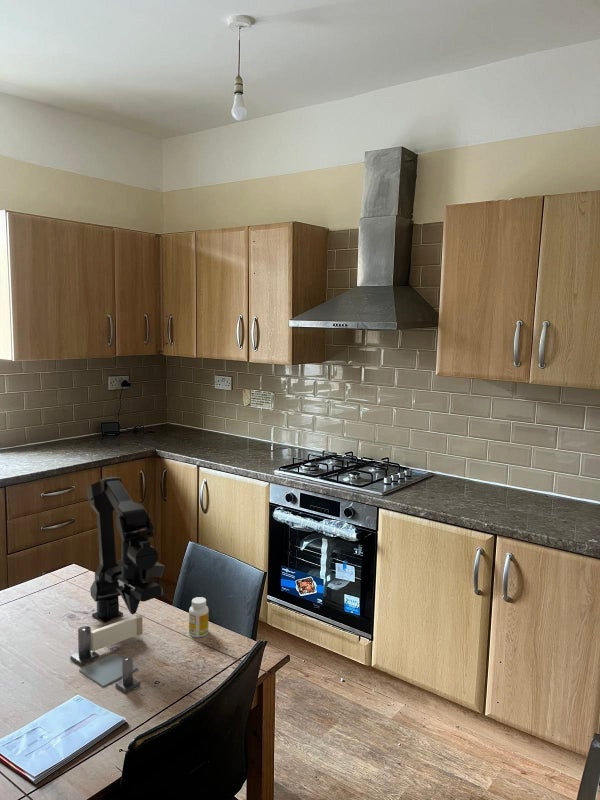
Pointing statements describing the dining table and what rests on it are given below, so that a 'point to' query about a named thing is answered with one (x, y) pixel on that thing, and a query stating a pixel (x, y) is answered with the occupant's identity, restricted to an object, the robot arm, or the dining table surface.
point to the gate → (116, 632)
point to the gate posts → (88, 655)
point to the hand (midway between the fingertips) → (133, 613)
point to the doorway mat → (105, 670)
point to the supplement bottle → (198, 617)
